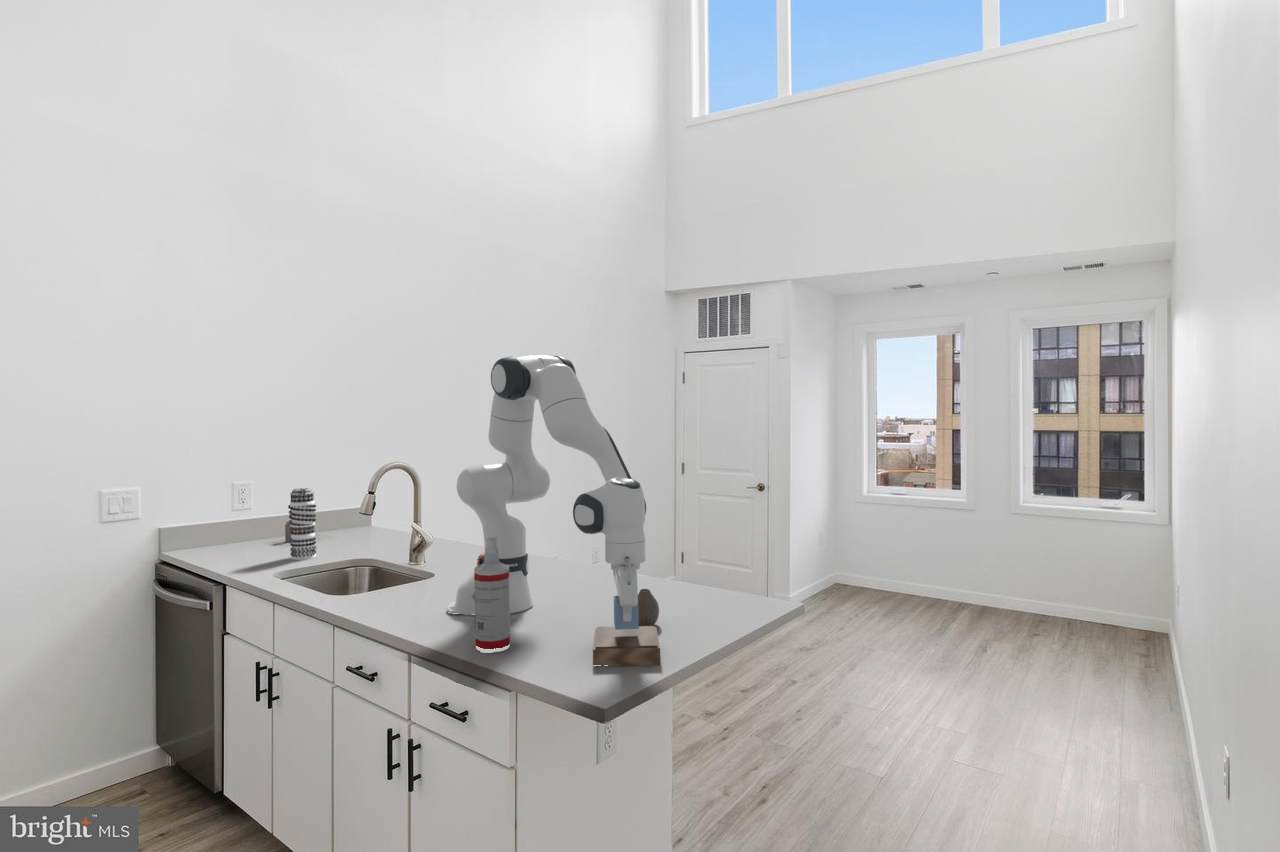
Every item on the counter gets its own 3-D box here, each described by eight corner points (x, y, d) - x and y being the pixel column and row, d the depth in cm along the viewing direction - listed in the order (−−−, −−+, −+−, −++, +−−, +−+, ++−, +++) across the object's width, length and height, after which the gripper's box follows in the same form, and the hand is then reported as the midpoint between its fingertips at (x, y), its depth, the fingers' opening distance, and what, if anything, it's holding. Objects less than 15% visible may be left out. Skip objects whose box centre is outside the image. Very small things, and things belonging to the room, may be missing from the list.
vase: (639, 631, 169) (638, 595, 169) (626, 623, 175) (626, 588, 175) (664, 626, 172) (663, 591, 172) (650, 619, 178) (650, 585, 178)
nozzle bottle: (478, 655, 154) (476, 541, 153) (472, 644, 160) (470, 536, 160) (514, 650, 157) (512, 538, 156) (506, 639, 163) (505, 533, 163)
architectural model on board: (290, 544, 283) (289, 520, 283) (285, 543, 284) (284, 519, 284) (315, 539, 293) (315, 516, 292) (311, 538, 294) (310, 515, 294)
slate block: (615, 629, 151) (615, 601, 150) (614, 622, 155) (613, 595, 155) (638, 628, 151) (638, 601, 151) (636, 621, 156) (636, 594, 156)
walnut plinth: (593, 666, 146) (592, 647, 146) (595, 643, 160) (595, 626, 160) (660, 665, 147) (660, 646, 147) (656, 642, 161) (656, 625, 161)
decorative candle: (303, 560, 250) (301, 490, 249) (283, 559, 253) (281, 489, 252) (323, 555, 258) (321, 487, 257) (303, 553, 261) (302, 487, 261)
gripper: (644, 563, 143) (645, 630, 143) (635, 543, 163) (636, 602, 163) (613, 564, 142) (614, 631, 143) (608, 544, 162) (609, 603, 163)
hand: (625, 616), depth 153 cm, fingers closed on slate block, 5 cm apart
